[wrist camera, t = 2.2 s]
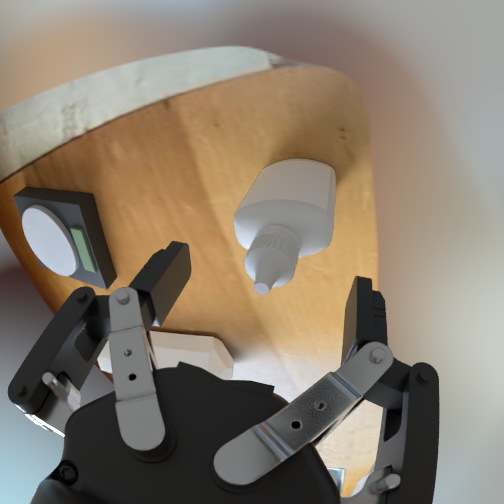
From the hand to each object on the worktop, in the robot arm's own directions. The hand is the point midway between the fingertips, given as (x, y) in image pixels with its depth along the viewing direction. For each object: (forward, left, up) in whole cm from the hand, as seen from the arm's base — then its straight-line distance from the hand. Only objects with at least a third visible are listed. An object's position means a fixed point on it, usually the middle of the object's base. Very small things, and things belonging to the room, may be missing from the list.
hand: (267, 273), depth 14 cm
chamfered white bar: (+28, -16, -11) cm, 34 cm away
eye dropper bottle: (0, 0, -11) cm, 11 cm away
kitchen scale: (+10, -28, -11) cm, 32 cm away
